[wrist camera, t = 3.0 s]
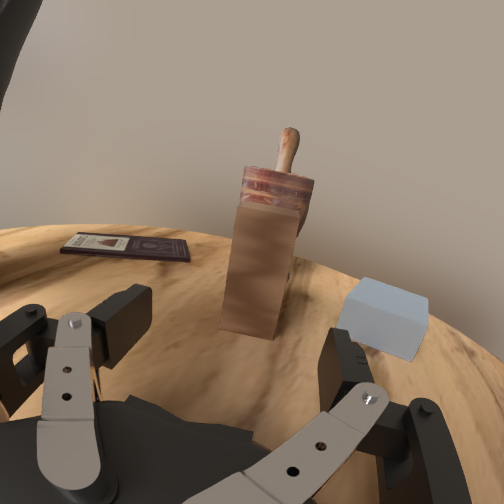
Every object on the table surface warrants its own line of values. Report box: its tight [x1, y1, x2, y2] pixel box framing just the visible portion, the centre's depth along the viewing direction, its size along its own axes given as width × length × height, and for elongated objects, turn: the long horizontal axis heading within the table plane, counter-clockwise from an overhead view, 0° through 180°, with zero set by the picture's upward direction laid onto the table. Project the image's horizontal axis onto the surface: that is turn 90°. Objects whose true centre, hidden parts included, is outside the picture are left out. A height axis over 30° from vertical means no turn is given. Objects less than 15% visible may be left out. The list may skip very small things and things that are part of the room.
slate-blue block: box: [336, 277, 428, 362], centre depth 25 cm, size 8×8×4 cm
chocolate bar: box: [60, 232, 190, 262], centre depth 37 cm, size 9×1×18 cm
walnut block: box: [220, 201, 300, 341], centre depth 23 cm, size 4×4×10 cm
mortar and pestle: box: [239, 127, 314, 280], centre depth 35 cm, size 12×9×20 cm
